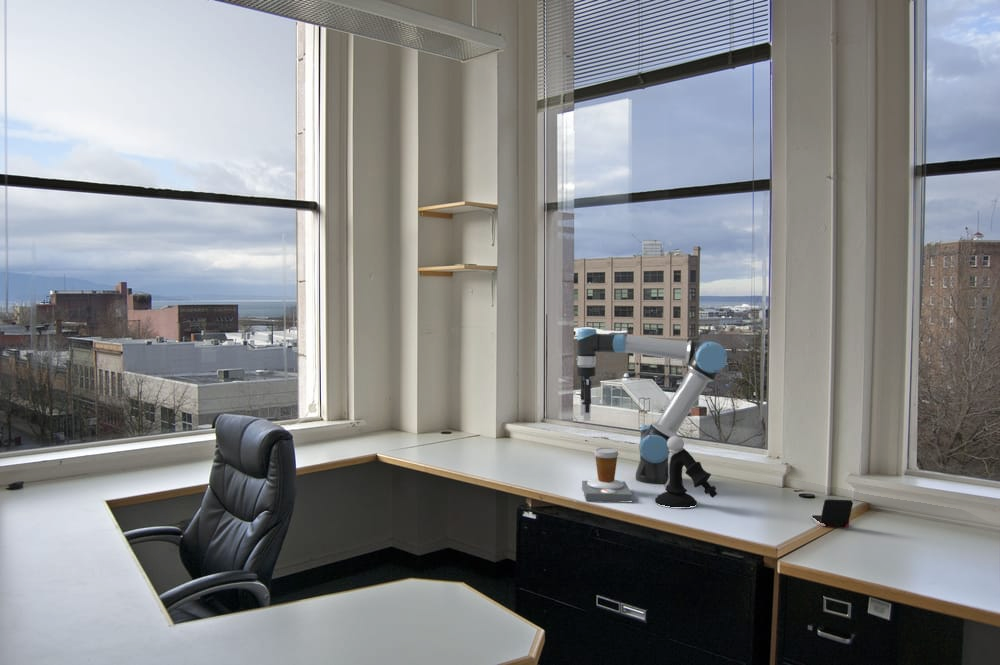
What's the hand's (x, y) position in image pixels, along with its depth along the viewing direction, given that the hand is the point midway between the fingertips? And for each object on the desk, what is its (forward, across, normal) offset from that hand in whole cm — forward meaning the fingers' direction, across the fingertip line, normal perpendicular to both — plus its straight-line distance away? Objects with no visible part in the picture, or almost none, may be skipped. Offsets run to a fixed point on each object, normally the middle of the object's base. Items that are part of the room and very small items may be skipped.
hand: (585, 418), depth 307 cm
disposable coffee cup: (+23, +12, +8) cm, 27 cm away
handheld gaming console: (+27, +53, +79) cm, 99 cm away
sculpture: (+27, +32, +35) cm, 54 cm away
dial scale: (+27, +19, +7) cm, 34 cm away
